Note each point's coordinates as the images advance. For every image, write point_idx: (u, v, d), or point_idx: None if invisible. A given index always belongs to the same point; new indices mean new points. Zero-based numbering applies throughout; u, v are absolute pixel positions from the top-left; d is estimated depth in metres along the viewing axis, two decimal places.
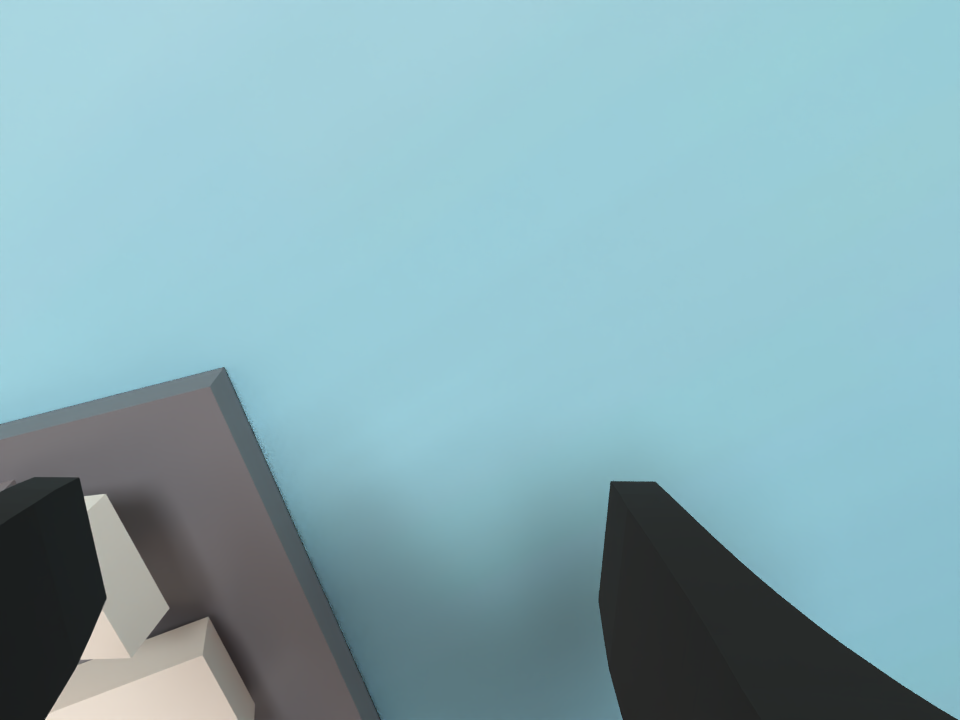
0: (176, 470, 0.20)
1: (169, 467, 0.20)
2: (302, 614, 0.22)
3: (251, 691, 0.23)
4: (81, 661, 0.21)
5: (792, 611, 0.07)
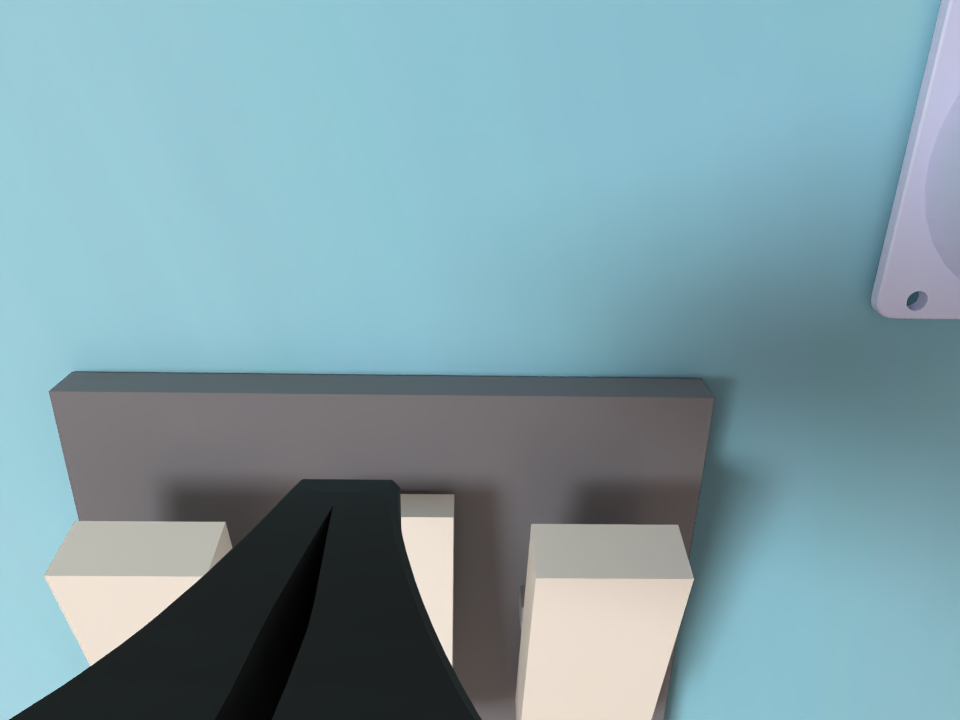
0: (142, 454, 0.20)
1: (138, 459, 0.20)
2: (350, 405, 0.19)
3: (446, 491, 0.20)
4: None
5: (409, 609, 0.07)
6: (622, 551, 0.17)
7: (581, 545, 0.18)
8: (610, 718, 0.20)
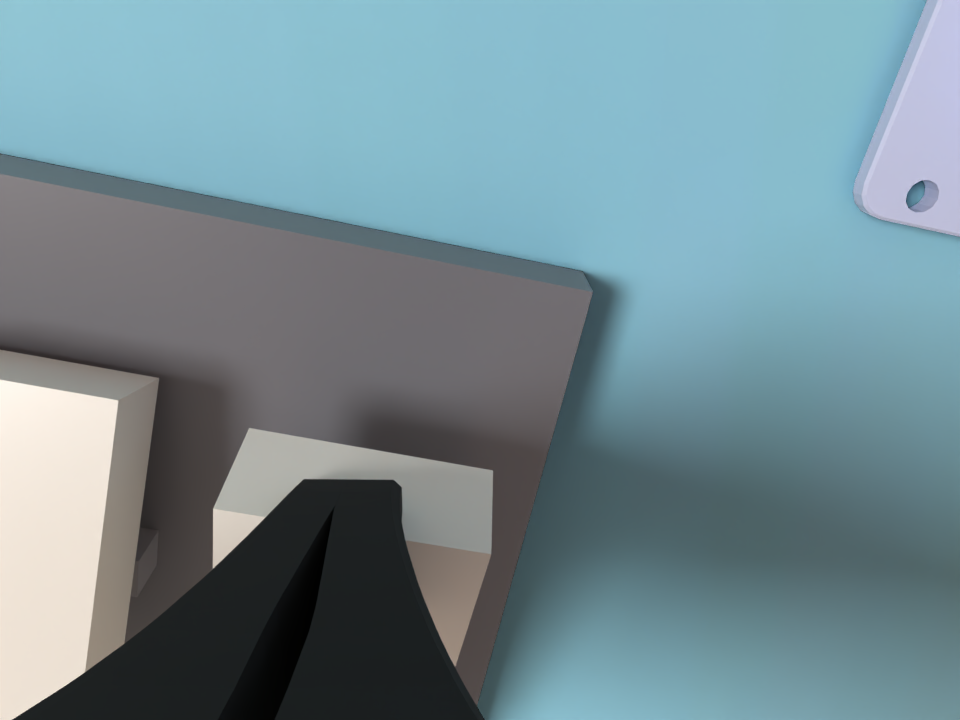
0: None
1: None
2: None
3: (153, 374, 0.13)
4: None
5: (412, 609, 0.07)
6: None
7: (319, 472, 0.10)
8: None
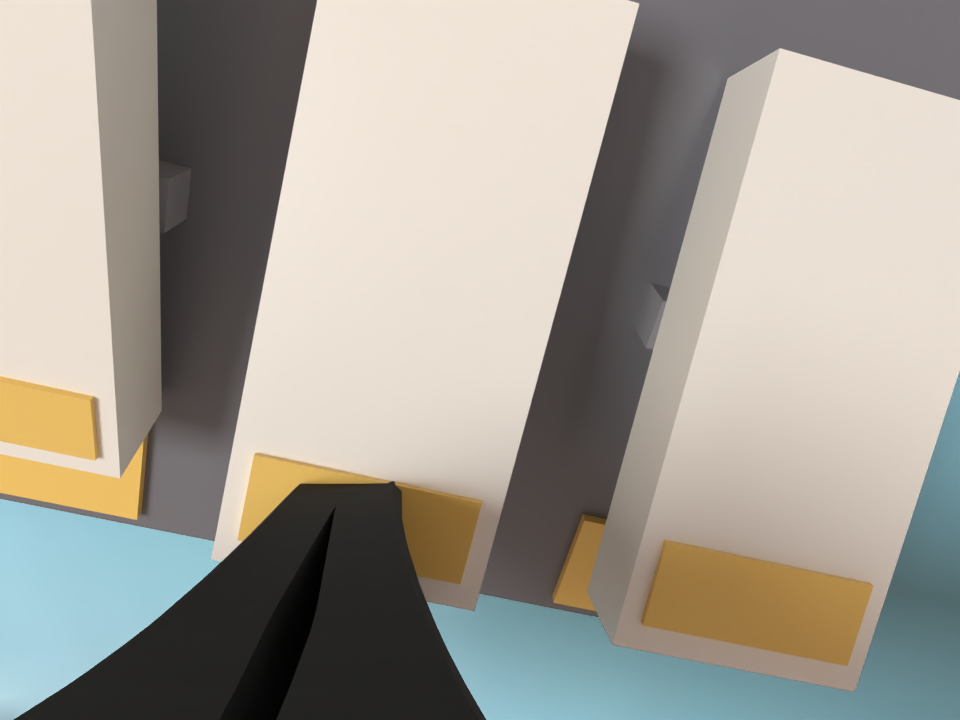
0: None
1: None
2: None
3: None
4: None
5: (413, 610, 0.07)
6: None
7: None
8: (821, 547, 0.10)
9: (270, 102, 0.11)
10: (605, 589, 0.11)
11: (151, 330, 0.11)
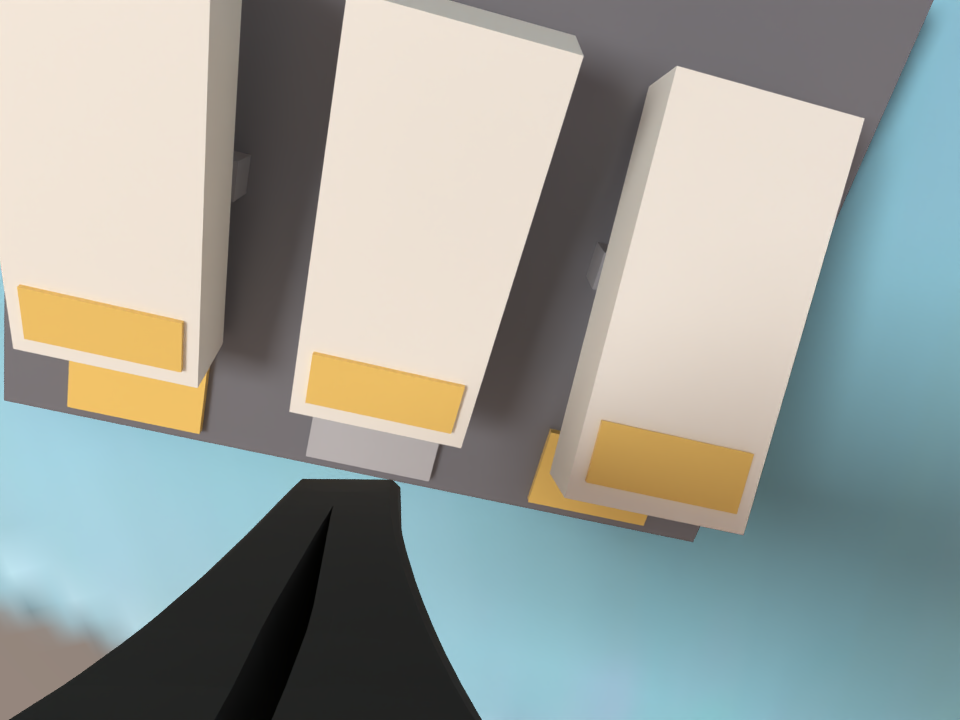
0: None
1: None
2: None
3: None
4: None
5: (409, 610, 0.07)
6: None
7: None
8: (715, 426, 0.14)
9: (311, 105, 0.15)
10: (561, 464, 0.15)
11: (221, 275, 0.15)
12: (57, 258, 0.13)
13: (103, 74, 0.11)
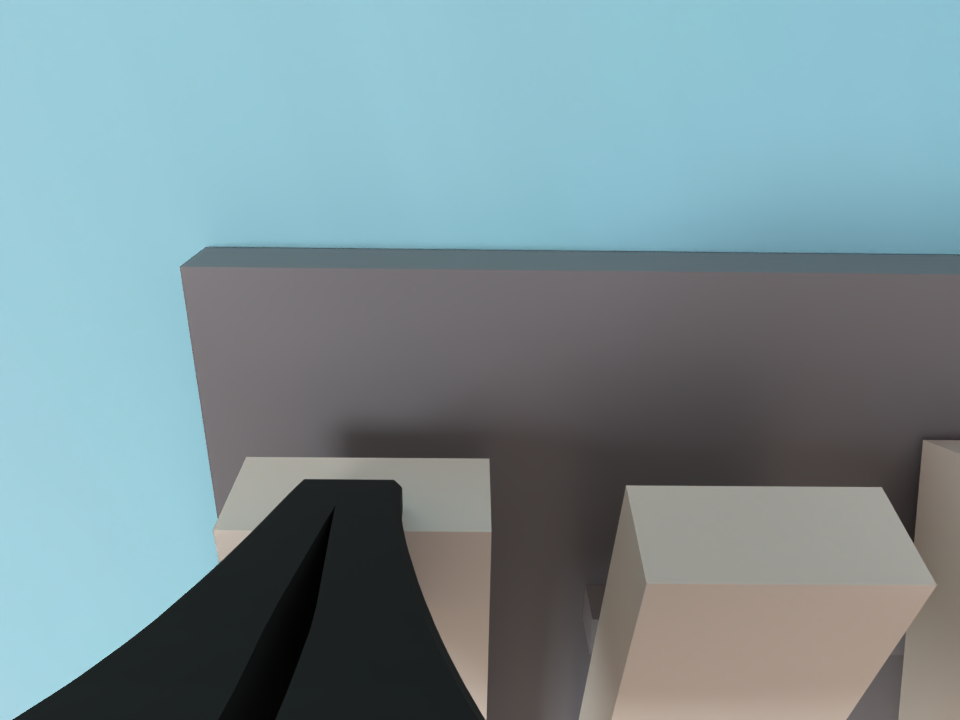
0: (322, 375, 0.12)
1: (315, 383, 0.12)
2: (668, 291, 0.12)
3: (795, 436, 0.13)
4: None
5: (412, 609, 0.07)
6: None
7: None
8: None
9: (542, 530, 0.13)
10: None
11: None
12: None
13: None
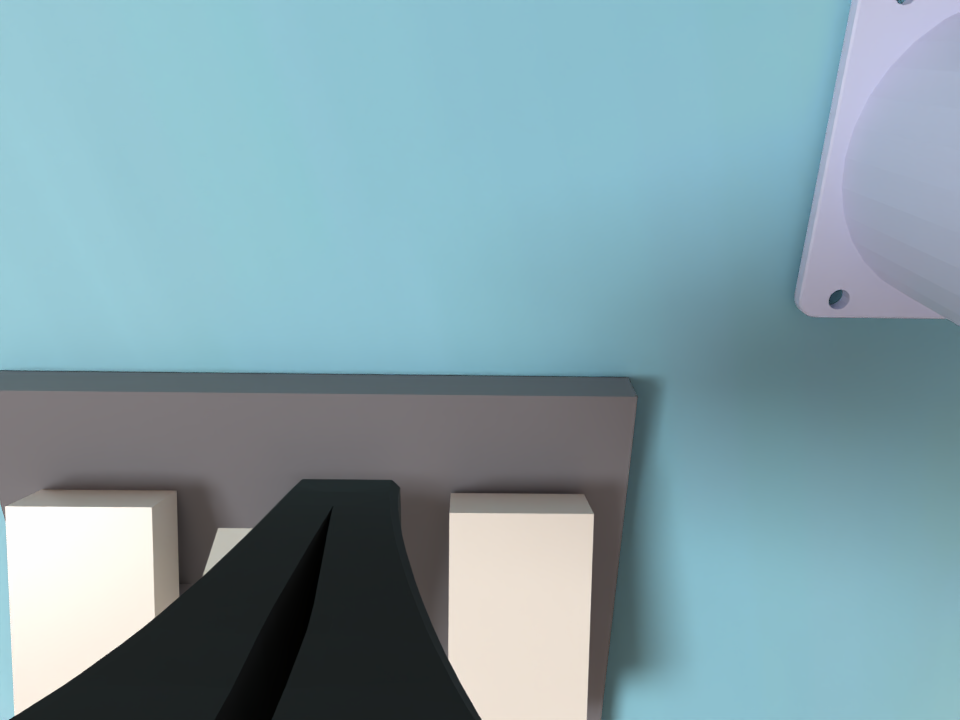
0: (65, 453, 0.20)
1: (61, 458, 0.20)
2: (271, 404, 0.19)
3: None
4: None
5: (410, 609, 0.07)
6: (530, 503, 0.19)
7: (494, 501, 0.19)
8: None
9: None
10: None
11: None
12: None
13: (90, 587, 0.19)
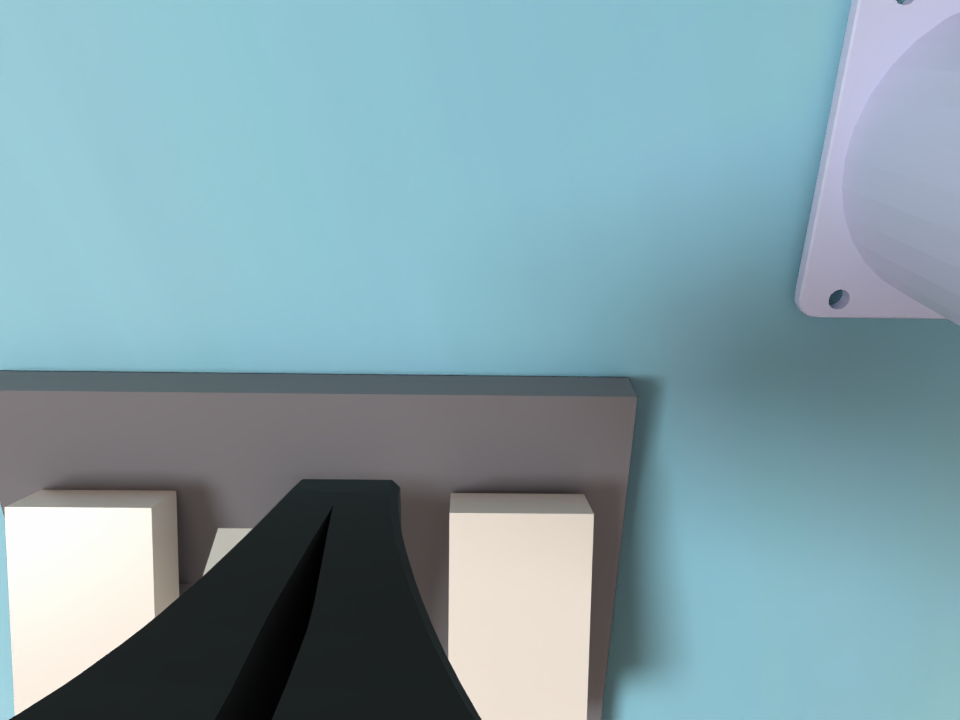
0: (65, 453, 0.20)
1: (62, 458, 0.20)
2: (272, 404, 0.19)
3: None
4: None
5: (410, 609, 0.07)
6: (531, 503, 0.19)
7: (494, 501, 0.19)
8: None
9: None
10: None
11: None
12: None
13: (90, 588, 0.19)
